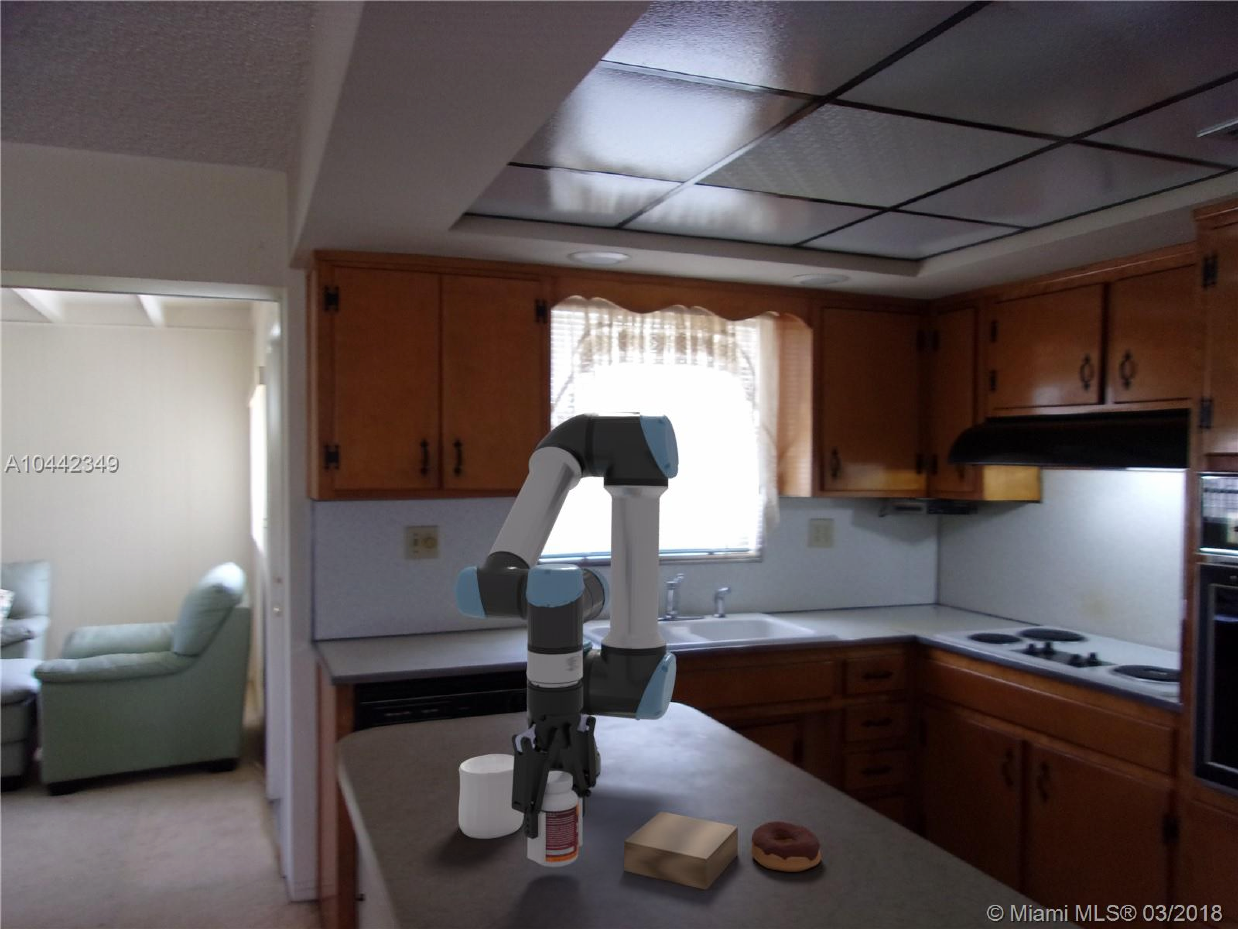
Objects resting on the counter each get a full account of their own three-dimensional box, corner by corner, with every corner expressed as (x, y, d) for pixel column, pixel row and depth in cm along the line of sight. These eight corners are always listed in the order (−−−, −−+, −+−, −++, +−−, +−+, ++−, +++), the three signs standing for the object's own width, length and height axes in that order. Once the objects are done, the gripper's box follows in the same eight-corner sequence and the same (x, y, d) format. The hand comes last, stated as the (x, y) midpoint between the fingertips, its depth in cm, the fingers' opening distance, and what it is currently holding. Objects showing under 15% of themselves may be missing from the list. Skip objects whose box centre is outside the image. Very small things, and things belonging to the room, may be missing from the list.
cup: (533, 819, 141) (533, 757, 141) (504, 844, 131) (505, 777, 131) (479, 811, 144) (479, 750, 144) (447, 835, 134) (447, 770, 134)
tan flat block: (624, 870, 123) (624, 841, 123) (660, 838, 134) (660, 811, 134) (706, 890, 117) (706, 859, 117) (737, 854, 128) (737, 826, 128)
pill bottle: (587, 861, 121) (587, 779, 120) (546, 873, 117) (546, 789, 117) (563, 844, 126) (563, 765, 126) (524, 855, 122) (524, 774, 122)
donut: (806, 882, 120) (806, 853, 120) (738, 865, 125) (738, 836, 125) (831, 855, 129) (831, 827, 129) (767, 839, 134) (767, 813, 134)
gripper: (520, 700, 112) (520, 885, 112) (623, 672, 126) (623, 837, 126) (481, 689, 117) (481, 867, 117) (585, 663, 131) (585, 822, 131)
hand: (555, 851), depth 122 cm, fingers closed on pill bottle, 6 cm apart
